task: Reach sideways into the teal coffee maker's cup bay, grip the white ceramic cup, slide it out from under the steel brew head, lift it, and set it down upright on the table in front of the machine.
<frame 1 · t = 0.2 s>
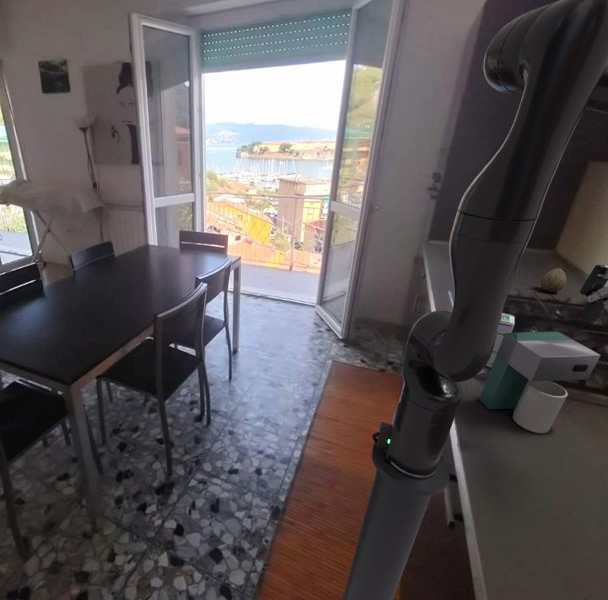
syrup box: (485, 361, 102), on the worktop
cup: (530, 422, 80), on the worktop
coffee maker: (523, 416, 82), on the worktop
decorative egg: (549, 292, 143), on the worktop
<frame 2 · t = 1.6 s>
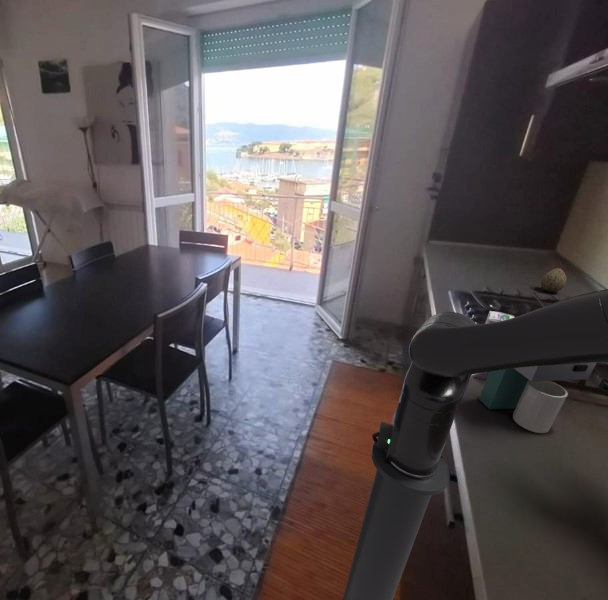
nothing on the worktop moved.
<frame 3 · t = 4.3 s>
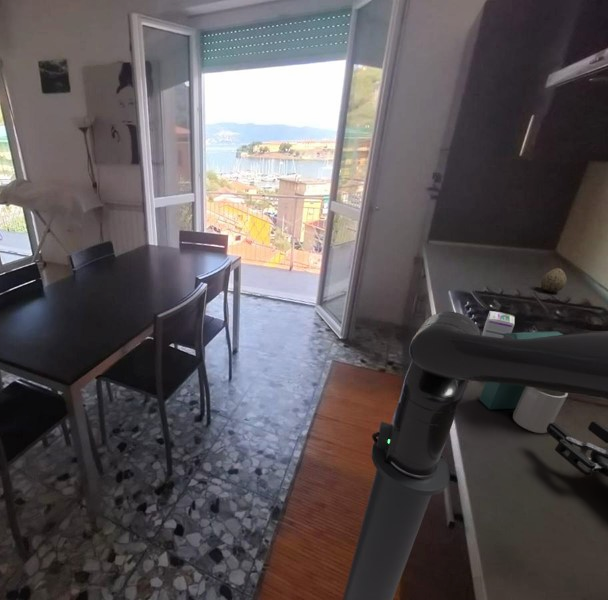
hand: (570, 425, 72), 6 cm above the worktop, tool horizontal, fingers open, 8 cm apart
nothing on the worktop moved.
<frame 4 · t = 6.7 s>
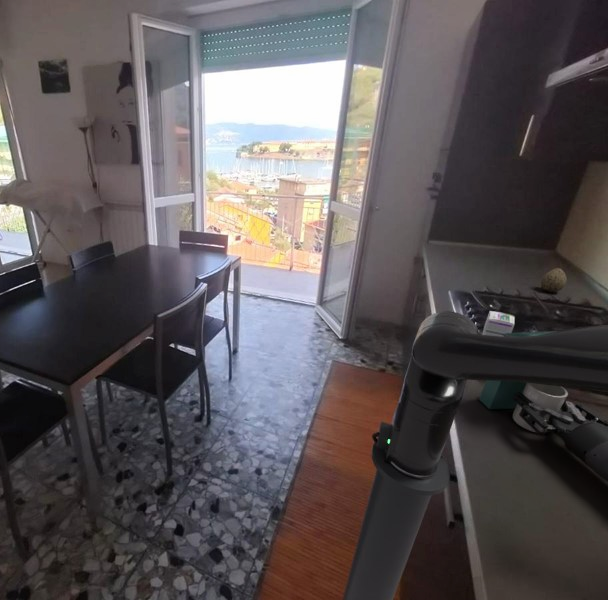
hand: (531, 394, 80), 6 cm above the worktop, tool horizontal, fingers closed on cup, 6 cm apart
cup: (530, 422, 80), on the worktop, touching gripper
everything else where it was.
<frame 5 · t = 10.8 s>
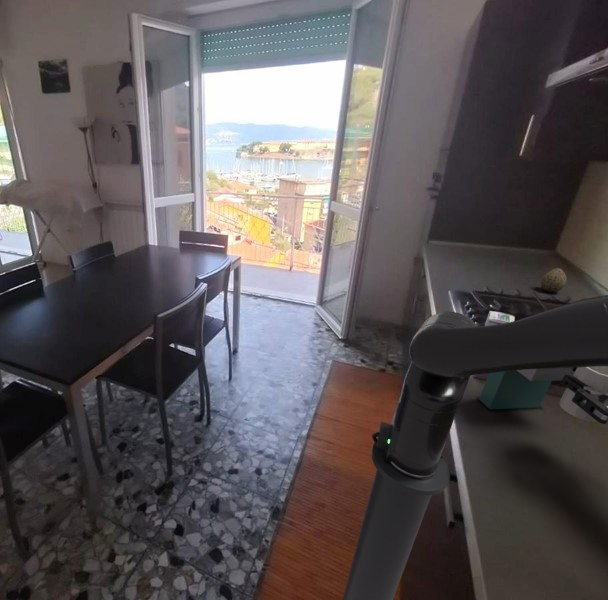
hand: (583, 377, 68), 17 cm above the worktop, tool horizontal, fingers closed on cup, 6 cm apart
cup: (581, 410, 68), point 11 cm above the worktop, touching gripper
everything else where it was.
when the fingers open (6 cm above the worktop, at t = 15.0 s): cup stays where it is, on the worktop.
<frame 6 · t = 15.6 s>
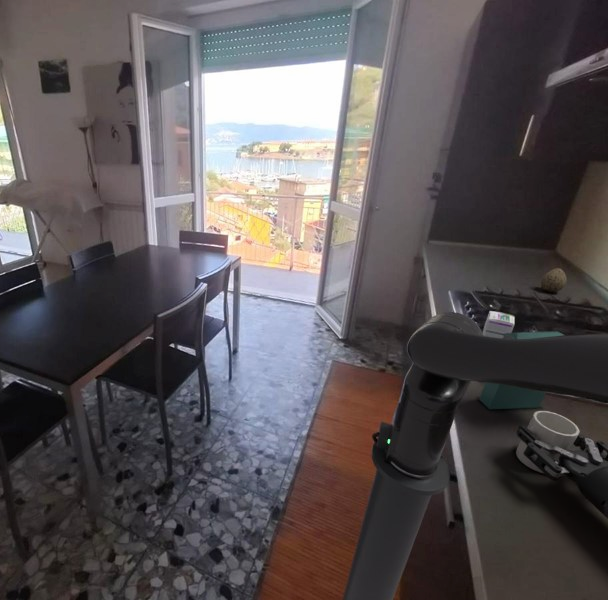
hand: (540, 428, 70), 7 cm above the worktop, tool horizontal, fingers open, 8 cm apart
cup: (536, 460, 71), on the worktop
everything else where it was.
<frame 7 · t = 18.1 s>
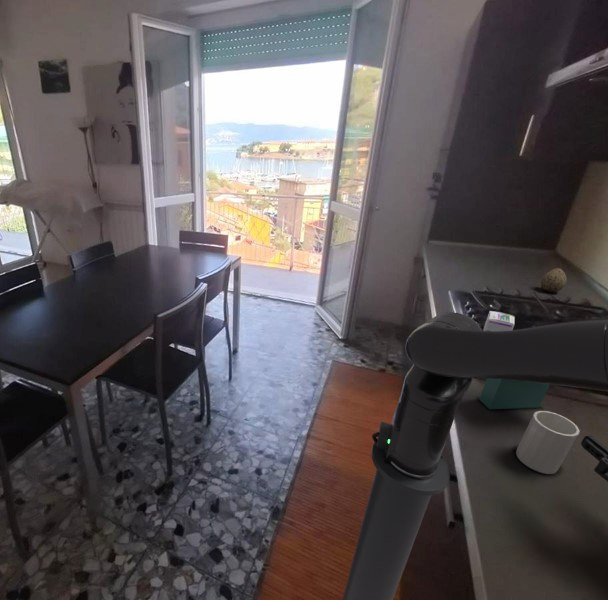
nothing on the worktop moved.
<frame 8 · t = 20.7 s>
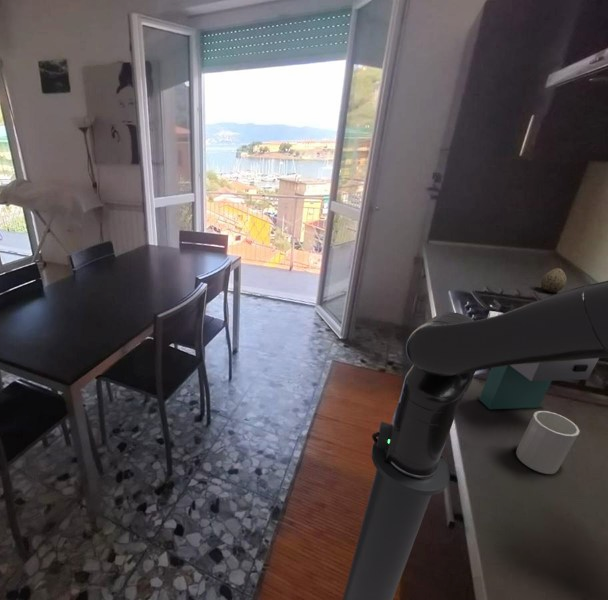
nothing on the worktop moved.
at the end: cup inside the target area (0.1 cm from its centre), on the worktop; cup tilted 0°; the gripper is holding nothing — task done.
